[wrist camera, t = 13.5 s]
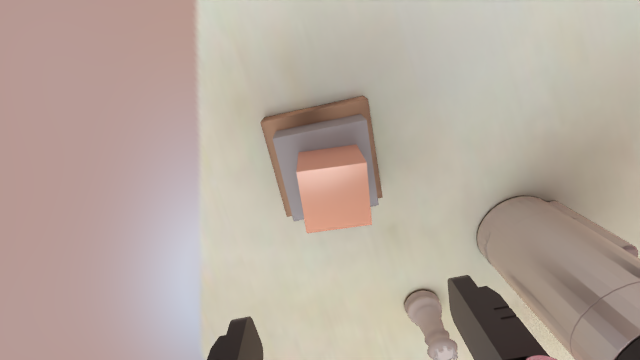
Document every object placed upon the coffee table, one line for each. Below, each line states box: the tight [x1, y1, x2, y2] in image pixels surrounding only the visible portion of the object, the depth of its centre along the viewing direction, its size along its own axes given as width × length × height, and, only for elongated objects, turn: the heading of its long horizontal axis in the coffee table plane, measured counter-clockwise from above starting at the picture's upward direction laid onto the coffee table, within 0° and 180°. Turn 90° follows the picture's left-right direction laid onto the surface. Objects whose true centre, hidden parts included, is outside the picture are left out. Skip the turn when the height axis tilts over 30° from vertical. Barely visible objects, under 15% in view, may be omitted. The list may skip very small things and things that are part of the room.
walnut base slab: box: [261, 96, 382, 217], centre depth 32 cm, size 10×10×3 cm
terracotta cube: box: [296, 144, 372, 233], centre depth 25 cm, size 5×5×5 cm
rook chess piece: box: [405, 290, 458, 360], centre depth 37 cm, size 4×4×8 cm
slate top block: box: [273, 114, 378, 221], centre depth 29 cm, size 8×8×3 cm
